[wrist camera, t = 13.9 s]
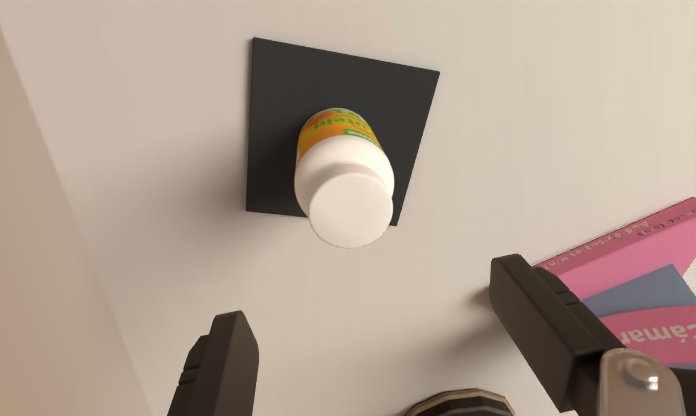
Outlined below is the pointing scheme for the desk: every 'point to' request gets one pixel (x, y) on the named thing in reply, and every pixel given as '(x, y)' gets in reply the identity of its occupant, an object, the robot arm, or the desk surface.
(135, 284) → the desk surface
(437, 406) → the lantern
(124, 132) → the desk surface
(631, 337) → the trophy
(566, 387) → the robot arm
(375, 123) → the mat
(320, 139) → the supplement bottle
